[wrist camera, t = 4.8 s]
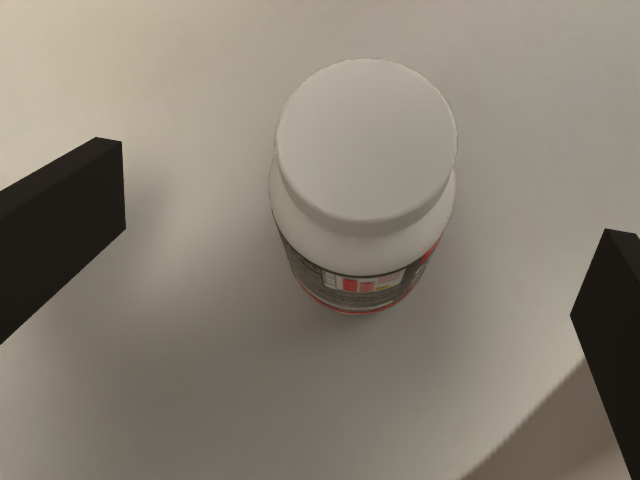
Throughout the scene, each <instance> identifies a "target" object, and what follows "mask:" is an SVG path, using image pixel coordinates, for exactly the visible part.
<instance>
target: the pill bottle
mask: <svg viewBox="0 0 640 480" xmlns="http://www.w3.org/2000/svg"><path fill="white" fill-rule="evenodd" d="M275 152H276V154H275V156H274V159H273V163H272V166H271V171H270V177H269V195H270V203H271V207H272V213H273V216H274V219H275V222H276V225H277V227H278V230H279V233H280V236H281V239H282V242H283V245H284V248H285V251H286V254H287V257H288V260H289V263H290V266H291V269H292V272H293V274H294V276H295V278H296V279H297V281H298V282H299V284H300V285H301V287H302V288H303V289H304V290H305V292H306V293H307V294H308V295H309V296H310V297H311V298H313V299H314V300H315V301H317V302H318V303H320V304H321V305H323V306H325V307H327V308H329V309H331V310H334V311H337V312H341V313H345V314H354V315H363V314H371V313H376V312H379V311H382V310H385V309H387V308H389V307H391V306H393V305H395V304H396V303H398V302H399V301H401V300H402V299H403V298H404V297H405V296H406V295H407V294H408V293H409V292H410V291H411V290H412V289H413V288H414V286H415V285H416V284H417V282H418V280H419V279H420V277H421V275H422V274H423V271H424V270H425V267H426V265H427V263H428V261H429V259H430V257H431V255H432V253H433V251H434V249H435V247H436V246H437V244H438V242H439V240H440V238H441V236H442V234H443V232H444V230H445V228H446V226H447V224H448V221H449V219H450V216H451V212H452V209H453V205H454V200H455V173H454V168H453V165H454V162H455V158H456V153H457V130H456V125H455V121H454V117H453V115H452V112H451V110H450V107H449V105H448V103H447V102H446V100H445V99H444V97H443V96H442V94H441V93H440V92H439V91H438V89H437V88H436V87H435V86H434V85H433V84H432V83H431V82H430V81H429V80H427V79H426V78H425V77H423V76H422V75H421V74H419V73H417V72H416V71H414V70H412V69H410V68H408V67H406V66H404V65H401V64H398V63H395V62H392V61H388V60H382V59H373V58H361V59H360V58H359V59H351V60H346V61H341V62H338V63H335V64H332V65H329V66H327V67H325V68H323V69H321V70H319V71H317V72H316V73H314V74H313V75H311V76H310V77H308V78H307V79H306V80H304V81H303V82H302V83H301V84H300V85H299V86H298V87H297V89H296V90H295V91H294V92H293V93H292V94H291V96H290V97H289V98H288V100H287V101H286V103H285V105H284V107H283V109H282V111H281V113H280V116H279V119H278V122H277V127H276V133H275Z"/></svg>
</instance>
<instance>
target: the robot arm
mask: <svg viewBox="0 0 640 480" xmlns="http://www.w3.org/2000/svg"><path fill="white" fill-rule="evenodd" d="M125 229H126V222H125V200H124V179H123V157H122V142H121V141H116V140H110V139H105V138H99V137H95V138H93V139H91V140H90V141H88V142H86V143H84V144H83V145H81V146H79V147H77V148H75V149H74V150H72V151H70V152H68V153H67V154H65V155H63V156H61V157H60V158H58V159H56V160H54V161H53V162H51V163H49V164H47V165H46V166H44V167H42V168H40V169H38V170H37V171H35V172H33V173H31V174H30V175H28V176H26V177H24V178H23V179H21V180H19V181H17V182H16V183H14V184H12V185H10V186H9V187H7V188H5V189H3V190H1V191H0V345H1V344H2V343H3V342H4V341H5V340H6V339H7V338H8V337H9V336H11V335H12V334H13V333H14V332H15V331H16V330H17V329H18V328H19V327H20V326H21V325H22V324H24V323H25V322H26V321H27V320H28V319H29V318H30V317H31V316H32V315H33V314H34V313H35V312H36V311H38V310H39V309H40V308H41V307H42V306H43V305H44V304H45V303H46V302H47V301H48V300H49V299H51V298H52V297H53V296H54V295H55V294H56V293H57V292H58V291H59V290H60V289H61V288H62V287H64V286H65V285H66V284H67V283H68V282H69V281H70V280H71V279H72V278H73V277H74V276H75V275H76V274H78V273H79V272H80V271H81V270H82V269H83V268H84V267H85V266H86V265H87V264H88V263H89V262H91V261H92V260H93V259H94V258H95V257H96V256H97V255H98V254H99V253H100V252H101V251H102V250H104V249H105V248H106V247H107V246H108V245H109V244H110V243H111V242H112V241H113V240H114V239H115V238H116V237H118V236H119V235H120V234H121V233H122V232H123V231H124V230H125ZM570 317H571V320H572V323H573V325H574V328H575V331H576V333H577V336H578V339H579V341H580V344H581V347H582V349H583V352H584V354H585V357H586V360H587V362H588V365H589V368H590V370H591V373H592V376H593V378H594V381H595V384H596V386H597V389H598V391H599V394H600V397H601V400H602V402H603V405H604V407H605V410H606V413H607V415H608V418H609V421H610V423H611V426H612V429H613V431H614V434H615V437H616V439H617V442H618V445H619V447H620V450H621V453H622V455H623V458H624V460H625V463H626V466H627V469H628V471H629V474H630V477H631V479H632V480H640V239H639V238H638V236H637V235H636V234H634V233H629V232H623V231H617V230H612V229H606V228H605V229H604V232H603V234H602V237H601V239H600V242H599V244H598V247H597V249H596V252H595V254H594V256H593V259H592V261H591V264H590V266H589V269H588V271H587V274H586V276H585V279H584V281H583V284H582V286H581V289H580V291H579V294H578V296H577V298H576V301H575V303H574V306H573V308H572V311H571V313H570Z"/></svg>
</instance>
